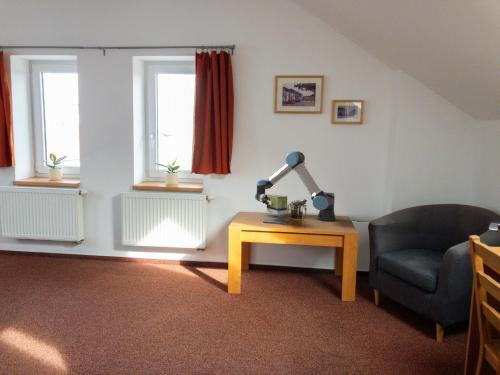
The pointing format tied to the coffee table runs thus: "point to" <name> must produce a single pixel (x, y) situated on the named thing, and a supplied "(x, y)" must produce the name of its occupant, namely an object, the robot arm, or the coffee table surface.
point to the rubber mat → (276, 220)
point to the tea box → (277, 204)
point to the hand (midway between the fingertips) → (277, 203)
